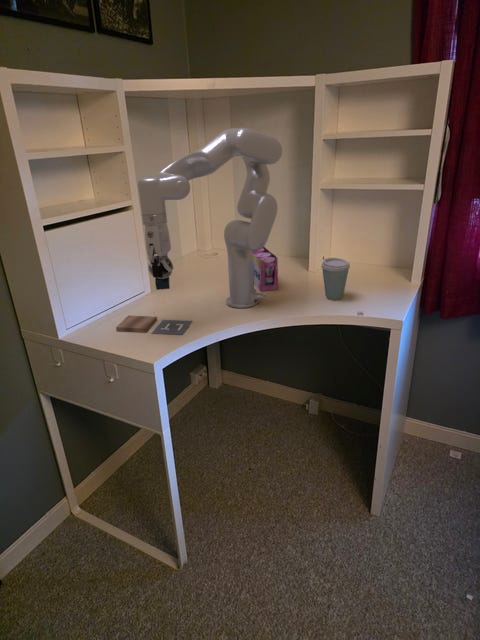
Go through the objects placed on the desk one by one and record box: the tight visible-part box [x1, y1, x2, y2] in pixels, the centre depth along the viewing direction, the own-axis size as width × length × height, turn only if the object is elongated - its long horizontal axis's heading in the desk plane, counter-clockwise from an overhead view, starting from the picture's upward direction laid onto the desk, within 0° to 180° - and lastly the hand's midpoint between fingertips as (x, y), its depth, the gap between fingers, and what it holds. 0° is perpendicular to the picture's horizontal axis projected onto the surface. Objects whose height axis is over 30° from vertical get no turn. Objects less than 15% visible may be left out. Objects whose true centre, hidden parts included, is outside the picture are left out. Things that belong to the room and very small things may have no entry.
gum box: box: [252, 246, 279, 292], centre depth 184 cm, size 24×8×14 cm, turn 13°
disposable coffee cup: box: [321, 257, 351, 301], centre depth 163 cm, size 11×11×15 cm
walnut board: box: [115, 315, 158, 333], centre depth 150 cm, size 11×10×2 cm
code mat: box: [151, 319, 193, 336], centre depth 148 cm, size 11×11×1 cm
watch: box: [147, 256, 174, 291], centre depth 140 cm, size 6×8×11 cm
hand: (161, 273), depth 140 cm, fingers closed on watch, 5 cm apart
